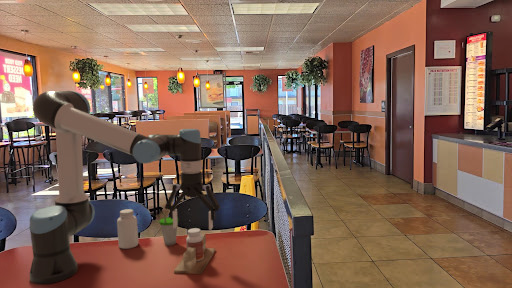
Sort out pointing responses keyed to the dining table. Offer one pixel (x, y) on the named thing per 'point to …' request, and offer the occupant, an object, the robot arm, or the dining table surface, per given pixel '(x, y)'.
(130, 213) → the pill bottle
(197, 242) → the pill bottle
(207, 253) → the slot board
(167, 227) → the cup
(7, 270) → the dining table surface
